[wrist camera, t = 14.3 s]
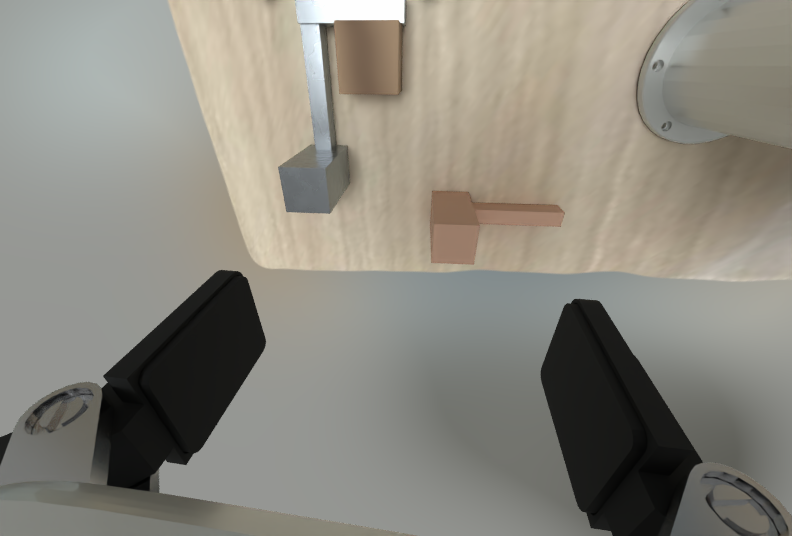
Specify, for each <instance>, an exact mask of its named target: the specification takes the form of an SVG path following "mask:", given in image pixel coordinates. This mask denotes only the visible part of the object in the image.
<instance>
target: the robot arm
mask: <svg viewBox="0 0 792 536" xmlns="http://www.w3.org/2000/svg"><path fill="white" fill-rule="evenodd" d="M653 64H655V66H654V68H652V67H653ZM637 101H638V106H639V112H640V114H641V116H642V119H643V121H644V123H645V124H646V125H647V126H648V128H649V129H650V130H651V131H652V132H654V133H655V134H656V135H658V136H659V137H661V138H664V139H667V140H669V141H673V142H677V143H682V144H699V143H705V142H711V141H714V140H717V139H720V138H724V137H726V136H728V135H732V136H736V137H741V138H745V139H750V140H754V141H759V142H763V143H767V144H772V145H776V146H781V147H785V148H790V149H792V0H690V1H689V2H687V3H686V4H685V5H684V6H683V7H682V8H681V9H680V10H679V11H678V12H677V13H676V14H675V15H674V16H673V17H672V18H671V19H670V20H669V21H668V23H667V24H666V25H665V27H664V28H663V29H662V31H661V32H660V33H659V35H658V36H657V38H656V39H655V41H654V43H653V45H652V46H651V48H650V50H649V52H648V54H647V56H646V59H645V61H644V64H643V66H642V69H641V73H640V77H639V82H638V92H637ZM662 125H663V126H662ZM265 344H266V339H265V336H264V332H263V329H262V326H261V322H260V319H259V316H258V313H257V309H256V306H255V303H254V299H253V296H252V293H251V290H250V286H249V283H248V280H247V278H246V277H243V275H242V274H241V273H240V272H238V271H227V270H226V271H225V270H219V271H217V272H216V273H215V274H214V275H213V276H212V277H210V278H209V279H208V280H207V281H206V282H205V283H204V284H203V285H202V286H201V287H200V288H198V289H197V290H196V291H195V292H194V293H193V294H192V295H191V296H190V297H189V298H188V299H186V301H184V302H183V303H182V304H181V305H180V306H179V307H178V308H177V309H176V310H174V311H173V312H172V313H171V314H170V315H169V316H168V317H167V318H166V319H165V320H164V321H162V323H160V324H159V325H158V326H157V327H156V328H155V329H154V330H153V331H152V332H150V333H149V334H148V335H147V336H146V337H145V338H144V339H143V340H142V341H141V342H140V343H139V344H137V345H136V346H135V347H134V348H133V349H132V350H131V351H130V352H129V353H128V354H126V355H125V356H124V357H123V358H122V359H121V360H120V361H119V362H118V363H117V364H116V365H115V366H113V367H112V368H111V369H110V370H109V371H108V372H107V373H106V374H105V375H104V378H105V379H106V381H107V382H108V383H107V384H106V385H105V386H104V387H103V388H101V387H100V386H99V385H98V384H96V383H91V382H83V383H76V384H72V385H68V386H66V387H64V388H61V389H58V390H56V391H54V392H52V393H51V394H49V395H47V396H45V397H43V398H42V399H40V400H39V401H38V402H37V403H35V404H34V405H32V406H31V407H30V408H29V409H28V410H27V411H26V412H25V413H24V414H23V415H22V416H21V417H20V419H19V420H18V422H17V424H16V426H15V428H14V430H13V432H12V433H9V434H7V435H5V436H2V437H0V536H416V535H409V534H404V533H398V532H392V531H386V530H380V529H374V528H368V527H363V526H357V525H351V524H344V523H338V522H333V521H326V520H321V519H315V518H309V517H302V516H297V515H291V514H285V513H279V512H273V511H267V510H261V509H255V508H248V507H243V506H236V505H230V504H223V503H217V502H212V501H205V500H199V499H193V498H187V497H181V496H175V495H168V494H162V493H159V467H160V466H161V465H162V463H163V462H164V461H165V460H166V461H167V462H170V463H177V464H183V465H186V464H187V463H188V461H189V460H190V458H191V457H192V455H193V454H194V453H196V452H198V451H199V450H200V449H201V448H202V447H203V445H204V444H205V442H206V441H207V439H208V437H209V436H210V434H211V432H212V431H213V429H214V428H215V426H216V425H217V423H218V422H219V420H220V418H221V417H222V415H223V414H224V412H225V411H226V409H227V407H228V406H229V404H230V403H231V401H232V400H233V398H234V396H235V395H236V393H237V392H238V390H239V388H240V387H241V385H242V384H243V382H244V381H245V379H246V377H247V376H248V374H249V373H250V371H251V370H252V368H253V366H254V364H255V363H256V362H257V360H258V358H259V357H260V355H261V354H262V352H263V350H264V348H265ZM541 381H542V385H543V388H544V391H545V395H546V399H547V402H548V406H549V409H550V412H551V416H552V419H553V423H554V426H555V429H556V433H557V436H558V440H559V443H560V447H561V450H562V454H563V457H564V461H565V464H566V467H567V471H568V474H569V478H570V481H571V484H572V488H573V492H574V495H575V498H576V502H577V504H578V507H579V509H580V510H581V511H582V512H586V513H587V516H588V520H589V523H590V526H591V528H594V529H601V530H608V531H611V532H612V535H613V536H792V516H791V514H790V513H789V512H788V511H787V510H786V508H785V507H784V506H783V505H782V504H781V502H780V501H779V500H778V499H777V498H776V497H774V496H773V495H772V494H771V493H770V492H769V491H768V490H767V489H765V487H763V486H762V485H760V484H759V483H757V482H756V481H754V480H753V479H752V478H750V477H749V476H747V475H745V474H743V473H741V472H739V471H737V470H735V469H733V468H731V467H728V466H725V465H722V464H718V463H708V462H702V460H701V458H700V457H699V455H698V454H697V452H696V451H695V449H694V447H693V446H692V444H691V443H690V441H689V439H688V438H687V436H686V435H685V433H684V432H683V430H682V428H681V427H680V425H679V424H678V422H677V421H676V419H675V417H674V416H673V414H672V413H671V411H670V409H669V408H668V406H667V405H666V403H665V402H664V400H663V399H662V397H661V395H660V394H659V392H658V391H657V389H656V387H655V386H654V384H653V383H652V381H651V379H650V378H649V376H648V375H647V373H646V372H645V370H644V368H643V367H642V365H641V364H640V362H639V361H638V359H637V358H636V357H635V356H634V355H633V353H632V352H631V350H630V349H629V347H628V345H627V344H626V342H625V341H624V339H623V337H622V336H621V334H620V333H619V331H618V329H617V328H616V326H615V325H614V323H613V321H612V320H611V318H610V317H609V315H608V314H607V312H606V310H605V309H604V307H603V306H602V304H601V303H600V302H599V301H597V300H585V299H574V300H573V301H572V303H571V304H568V303H567V304H566V305H565V306H564V308H563V311H562V314H561V316H560V319H559V322H558V324H557V327H556V330H555V333H554V335H553V338H552V341H551V343H550V346H549V349H548V352H547V354H546V357H545V360H544V362H543V365H542V368H541Z"/></svg>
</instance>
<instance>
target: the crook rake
mask: <svg viewBox="0 0 792 536" xmlns="http://www.w3.org/2000/svg"><path fill="white" fill-rule="evenodd" d="M295 4H296V12H297V20H298V23H299V24H300V25H301V34H302V42H303V50H304V58H305V66H306V75H307V83H308V91H309V99H310V107H311V116H312V124H313V132H314V140H315V145H310V146H308V147H307V148H305V149H304V150H302V151H301V152H300V153H298V154H297V155H295V156H294V157H292V158H291V159H289V160H288V161H286V162H285V163H283V164H282V165H281V166H279V167H278V169H279V174H280V179H281V185H282V190H283V195H284V201H285V206H286V212H301V213H329V214H330V213H331V212H332V210H333V208H334V207H335V205H336V204H337V202H338V201H339V199H340V198H341V196H342V194H343V193H344V191H345V190H346V188H347V187H348V185H349V184H350V175H349V161H348V147H347V146H338V145H336V136H335V125H334V114H333V103H332V91H331V80H330V69H329V58H328V46H327V35H326V27H327V26H334V20H399V21H400V23H401V25H402V26H406V0H295Z"/></svg>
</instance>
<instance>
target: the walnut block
mask: <svg viewBox="0 0 792 536" xmlns="http://www.w3.org/2000/svg"><path fill="white" fill-rule="evenodd" d="M334 30H335V43H336V56H337V69H338V82H339V94H396V95H398V94H399V93H400V92H401V91H402V25H401V23H400V21H399V20H334Z"/></svg>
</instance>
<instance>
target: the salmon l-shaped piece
mask: <svg viewBox="0 0 792 536" xmlns="http://www.w3.org/2000/svg"><path fill="white" fill-rule="evenodd" d="M564 214H565V212H564V211H563V210H562V209H561V208H560V207H559V206H558V205H534V204H503V203H472V201H471V198H470V195H469V192H450V191H432V204H431V219H430V234H431V263H451V264H474V260H475V254H476V247H477V241H478V234H479V228H480V225H479V224H501V225H529V226H557V227H561V224H562V220H563V217H564Z"/></svg>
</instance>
